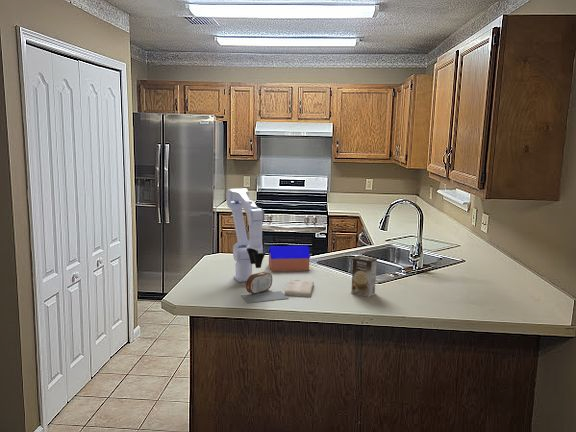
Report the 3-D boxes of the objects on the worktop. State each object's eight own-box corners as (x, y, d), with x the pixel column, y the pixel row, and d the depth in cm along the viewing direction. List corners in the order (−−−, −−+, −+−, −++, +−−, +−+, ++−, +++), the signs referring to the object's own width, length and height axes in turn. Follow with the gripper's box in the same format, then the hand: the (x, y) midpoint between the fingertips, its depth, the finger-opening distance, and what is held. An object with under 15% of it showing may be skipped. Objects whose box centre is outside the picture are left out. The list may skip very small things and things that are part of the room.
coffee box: (350, 293, 226) (351, 257, 223) (356, 289, 231) (358, 255, 228) (369, 297, 221) (371, 261, 218) (375, 293, 226) (377, 258, 223)
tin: (268, 287, 231) (268, 269, 230) (273, 289, 229) (273, 270, 228) (245, 295, 220) (245, 275, 219) (250, 296, 218) (250, 276, 217)
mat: (241, 295, 220) (241, 295, 220) (280, 291, 226) (280, 291, 226) (247, 303, 211) (247, 302, 211) (288, 298, 217) (288, 298, 217)
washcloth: (313, 285, 238) (314, 279, 237) (311, 298, 220) (311, 291, 219) (288, 284, 239) (288, 278, 238) (284, 296, 221) (284, 289, 221)
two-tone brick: (268, 265, 270) (268, 243, 268) (305, 264, 273) (305, 243, 271) (270, 271, 258) (271, 249, 256) (309, 270, 261) (310, 248, 259)
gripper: (242, 233, 232) (242, 262, 234) (251, 239, 219) (251, 270, 221) (257, 232, 235) (257, 261, 237) (267, 238, 221) (267, 269, 223)
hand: (255, 265), depth 229 cm, fingers open, 7 cm apart
